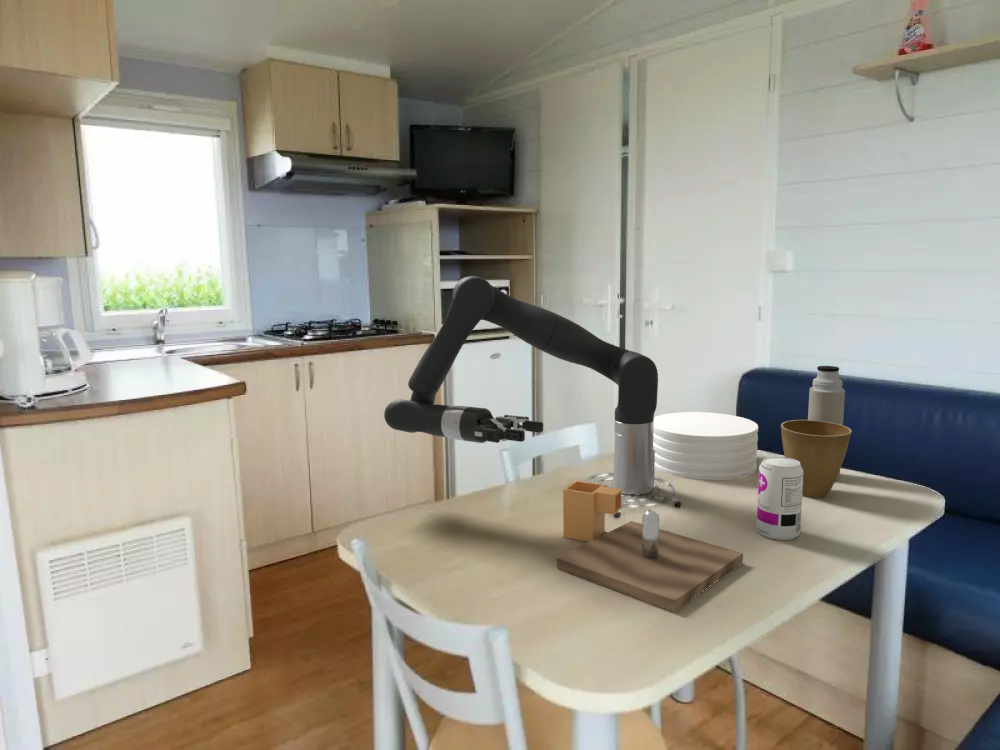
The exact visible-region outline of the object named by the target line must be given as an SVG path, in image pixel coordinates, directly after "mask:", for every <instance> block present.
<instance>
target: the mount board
mask: <svg viewBox="0 0 1000 750" xmlns="http://www.w3.org/2000/svg"><path fill="white" fill-rule="evenodd" d="M743 560H744V553H743V552H741V551H737V550H734V549H731V548H730V549H729V548H726V547H724V546H720V545H716V544H713V543H708V542H705V541H702V540H699V539H695V538H692V537H689V536H684V535H681V534H679V533H674V532H671V531H668V530H664V529H660V528H659V557H658V558H656V559H647V558H644V557H643V556H642V523H640V522H636V521H634V520H630V521H628V522H626V523H624V524H622V525H621V526H618V527H617V528H614V529H612V530H610V531H608V532H606V533H603V534H601V535H600V536H599V537H598V538H596V539H594V540H592V541H590V542H588V541H587V542H586V543H584V544H582V545H580V546H578V547H576V548H574V549H572V550H570V551H568V552H565V553H564V554H562V555H560V556H558V557H556V569H559V570H560V571H563V572H566V573H569V574H571V575H575V576H576V577H579V578H581V579H584V580H586V581H587V580H588V581H590V582H593V583H595V584H598V585H601V586H604V587H606V588H607V589H611V590H613V591H617V592H619V593H622V594H625V595H627V596H630V597H632V598H635V599H638V600H641V601H643V602H646V603H648V604H651V605H653V606H656V607H659V608H661V609H664V608H665V610H667V611H669V610H670V612H672V613H676V612H677V611H678V609H679V608H680V609H681V608H683V607H685V605H687V604H689V603H690V602H691V601H692V600H693V599H692V598H694V597H695V596H697V595H698V594H699V593H701V592H702V591H703V590H705V589H706V588H708V587H709V586H710V585H712V584H713V583H714V582H716V581H717V580H719V579H720V578H722V577H723V576H724V577H726V576H727V575H729V574H730V573H732V572H733V571H734V570H736V569H737V568H738V567H740V566H741V565H743ZM739 565H740V566H739ZM735 568H736V569H735ZM732 570H733V571H732ZM729 572H730V573H729ZM728 573H729V574H728ZM726 574H727V575H726ZM725 575H726V576H725ZM724 577H723V578H724ZM723 578H722V579H723ZM720 580H721V579H720ZM720 580H719V581H720ZM716 583H717V582H716ZM713 585H714V584H713ZM713 585H712V586H713ZM709 588H710V587H709ZM709 588H708V589H709ZM706 590H707V589H706ZM706 590H705V591H706ZM702 593H703V592H702ZM702 593H701V594H702ZM699 595H700V594H699ZM699 595H698V596H699ZM698 596H697V597H698ZM695 598H696V597H695ZM695 598H694V599H695ZM691 599H692V600H691ZM690 600H691V601H690ZM689 601H690V602H689ZM686 603H687V604H686ZM682 606H683V607H682ZM680 609H679V610H680ZM675 611H676V612H675Z"/></svg>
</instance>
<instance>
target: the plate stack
mask: <svg viewBox="0 0 1000 750" xmlns="http://www.w3.org/2000/svg"><path fill="white" fill-rule="evenodd" d="M758 432H759V425H758V424H757V422H755V421H753V420H751V419H749V418H745V417H742V416H737V415H732V414H727V413H719V412H707V411H706V412H705V411H704V412H703V411H684V412H682V411H681V412H671V413H669V412H668V413H663V414H660V415H656V416H654V439H653V449H654V450H655V465H654V470H656V471H658V472H660V473H662V474H666V475H670V476H674V477H679V478H684V479H691V480H702V481H707V480H708V481H724V480H725V479H726V480H734V479H740V477H741V478H744V476H745V477H748V476H751V475H752V474H754V473H755V472H756V471H757V469H756V468H758V467H757V466H758V465H757V461H758V453H757V452H758V441H759V435H758ZM753 472H754V473H753ZM747 475H748V476H747Z"/></svg>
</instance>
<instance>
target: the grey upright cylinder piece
mask: <svg viewBox="0 0 1000 750" xmlns="http://www.w3.org/2000/svg"><path fill="white" fill-rule="evenodd" d="M641 524H642V556H643V557H644V558H647V559H656V558H658V557H659V529H660V516H659V514H658V513H657V512H656V511H654V510H652V509H650V510H649V509H648V510H647V511H645V512H644V513H643V514H642V517H641Z"/></svg>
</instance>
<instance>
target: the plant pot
mask: <svg viewBox="0 0 1000 750" xmlns="http://www.w3.org/2000/svg"><path fill="white" fill-rule="evenodd" d="M780 430H781V441H782V449H783V454H784V457H786V458H791V459H795V460H797V461H799V462H800V465H801V467H802V469H803V489H802V497H806V498H814V499H822V498H825V497H828V496H829V495H830V492H831V490H832V488H833V486H834V484H835V483H836V481H837V479H836V478H837V476H838V474H839V471H840V472H841V468H842V466H843V463H844V460H845V457H846V455H847V450H848V448H849V447H848V446H849V443H850V439H851V435H852V429H851V428H850V427H848V426H845V425H844V424H843V425H840V424H836V423H831V422H824V421H816V420H808V419H792V420H786V421H783V422H782V423H780Z"/></svg>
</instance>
